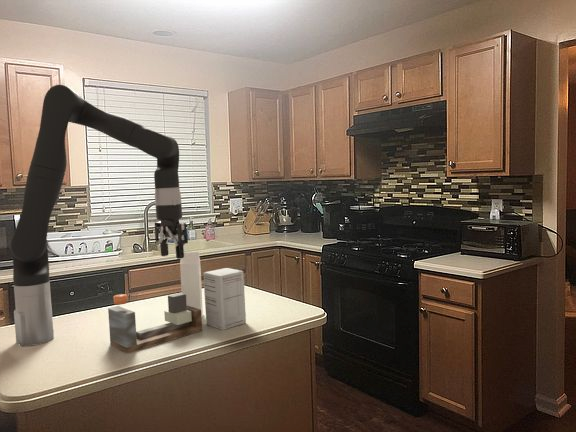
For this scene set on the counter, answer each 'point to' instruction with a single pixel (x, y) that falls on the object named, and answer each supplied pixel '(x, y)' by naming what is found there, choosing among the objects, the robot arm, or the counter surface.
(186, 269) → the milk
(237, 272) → the supplement box
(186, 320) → the carriage
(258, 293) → the counter surface
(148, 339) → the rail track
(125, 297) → the button
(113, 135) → the robot arm
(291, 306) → the counter surface
